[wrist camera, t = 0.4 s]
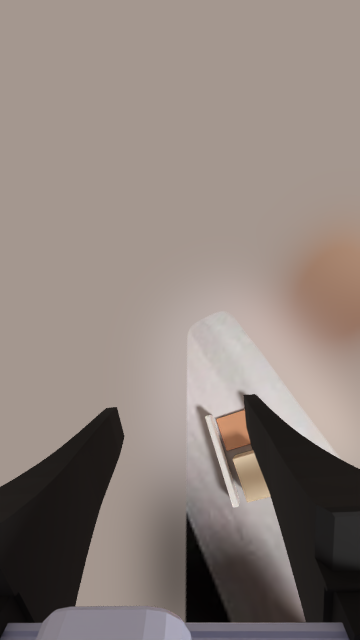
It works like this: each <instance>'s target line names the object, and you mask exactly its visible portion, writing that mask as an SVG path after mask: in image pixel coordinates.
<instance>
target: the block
mask: <svg viewBox="0 0 360 640" xmlns="http://www.w3.org/2000/svg"><path fill="white" fill-rule="evenodd" d="M233 462H234V465H235V468H236V471H237V474H238V477H239V480H240V482H241V485H242V488H243V491H244V494H245V497H246V500H247V502H251V501H255V500H259V499H263V498H266V497H270V493H269V490H268V488H267V485H266V482H265V480H264V477H263V475H262V472H261V470H260V467H259V464H258V462H257V459H256V457H255V454H254V451H253V450H251V451H247V452H244V453H241V454H237V455H235V456H234V458H233Z"/></svg>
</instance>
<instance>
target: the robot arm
mask: <svg viewBox="0 0 360 640" xmlns="http://www.w3.org/2000/svg"><path fill="white" fill-rule="evenodd" d="M244 405H245V418H246V428H247V431H248V435H249V439H250V443H251V446H252V449H253V451H254V454H255V457H256V459H257V462H258V464H259V467H260V470H261V472H262V475H263V477H264V480H265V482H266V485H267V488H268V490H269V493H270V496H271V499H272V502H273V505H274V509H275V512H276V515H277V519H278V522H279V526H280V529H281V533H282V536H283V540H284V543H285V547H286V550H287V554H288V557H289V561H290V564H291V568H292V572H293V575H294V579H295V582H296V586H297V590H298V593H299V597H300V601H301V605H302V608H303V612H304V616H305V620H306V623H184V622H183V620H182V619H181V617H180V616H178V615H176V614H175V613H173V612H171V611H169V610H167V609H164V608H158V607H151V606H101V607H100V606H93V607H92V606H91V607H75V605H76V600H77V595H78V591H79V587H80V583H81V578H82V574H83V570H84V566H85V562H86V557H87V554H88V550H89V546H90V542H91V538H92V535H93V531H94V527H95V524H96V520H97V517H98V513H99V510H100V507H101V504H102V501H103V498H104V495H105V493H106V490H107V488H108V485H109V482H110V480H111V477H112V474H113V472H114V469H115V467H116V464H117V461H118V458H119V455H120V452H121V448H122V444H123V440H124V433H123V429H122V426H121V422H120V418H119V414H118V410H117V407H113V408H106V409H105V410H104V411H103V412H101V413H100V414H99V415H98V416H97V417H96V418H95V419H93V420H92V421H91V422H90V423H89V424H88V425H87V426H85V428H83V429H82V430H81V431H80V432H79V433H78V434H76V435H75V436H74V437H73V438H71V439H70V440H69V441H68V442H67V443H65V444H64V445H63V446H62V447H61V448H59V449H58V450H57V451H56V452H54V453H53V454H51V455H50V456H49V457H47V458H46V459H44V460H43V461H42V462H40V463H39V464H37V465H36V466H34V467H32V468H31V469H29V470H28V471H26V472H25V473H23V474H21V475H20V476H18V477H17V478H15V479H13V480H12V481H10V482H8V483H7V484H5V485H3V486H1V487H0V640H360V469H358V468H356V467H354V466H352V465H350V464H348V463H346V462H344V461H343V460H341V459H339V458H337V457H335V456H334V455H332V454H330V453H329V452H327V451H325V450H323V449H322V448H320V447H319V446H317V445H315V444H314V443H312V442H311V441H310V440H308V439H307V438H305V437H304V436H302V435H301V434H299V433H298V432H297V431H296V430H294V429H293V428H292V427H290V426H289V425H288V424H287V423H286V422H284V421H283V420H282V419H281V418H280V417H279V416H278V415H276V414H275V413H274V412H273V411H272V410H271V409H270V408H269V407H268V406H267V405H266V404H265V403H264V402H263V401H262V400H261V399H260V398H259V397H258V396H257V395H255V394H252V395H244Z"/></svg>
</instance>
